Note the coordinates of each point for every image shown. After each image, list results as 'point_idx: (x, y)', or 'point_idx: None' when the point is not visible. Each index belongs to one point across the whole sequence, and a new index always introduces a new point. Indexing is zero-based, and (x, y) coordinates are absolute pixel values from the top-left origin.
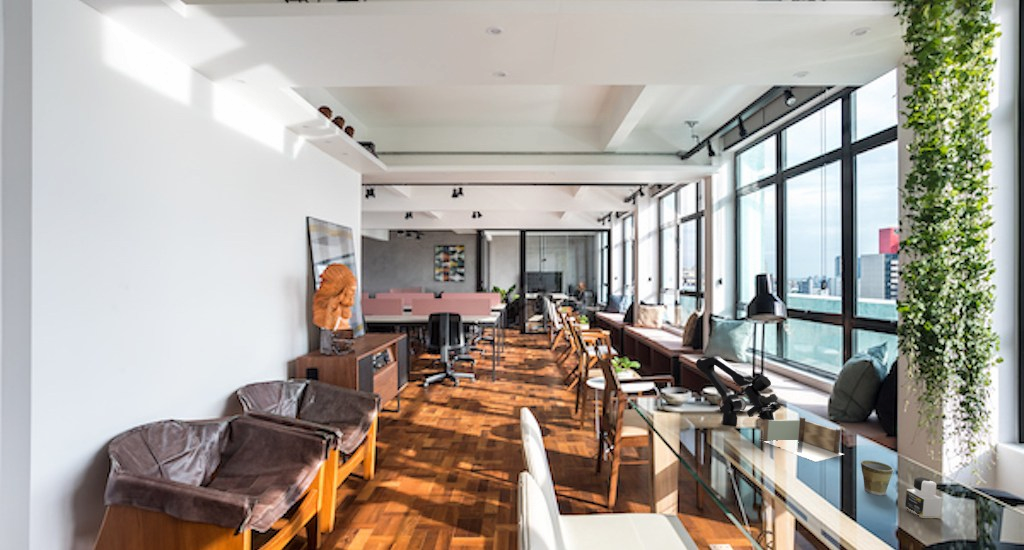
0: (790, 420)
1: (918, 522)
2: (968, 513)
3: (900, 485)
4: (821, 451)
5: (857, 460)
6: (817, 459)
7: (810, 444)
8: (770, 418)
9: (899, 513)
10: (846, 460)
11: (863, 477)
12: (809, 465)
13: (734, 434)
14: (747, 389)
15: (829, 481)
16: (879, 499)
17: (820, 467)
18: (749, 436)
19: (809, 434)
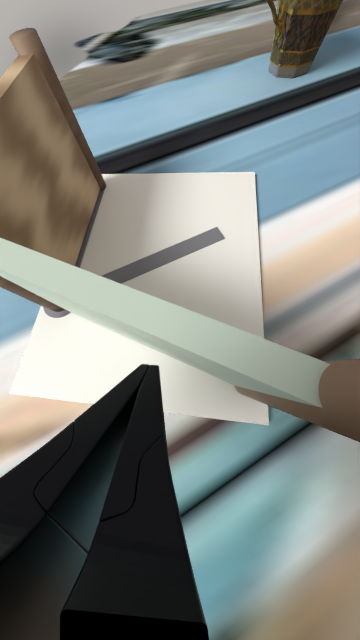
0: (20, 245)
1: (344, 14)
2: (217, 18)
3: (194, 71)
4: (129, 209)
5: (107, 150)
6: (227, 179)
7: (82, 258)
8: (155, 436)
9: (344, 28)
10: (136, 158)
11: (334, 16)
12: (300, 171)
13: (325, 628)
14: None
15: (352, 108)
16: (321, 53)
17: (278, 155)
18: (241, 508)
19: (44, 234)
